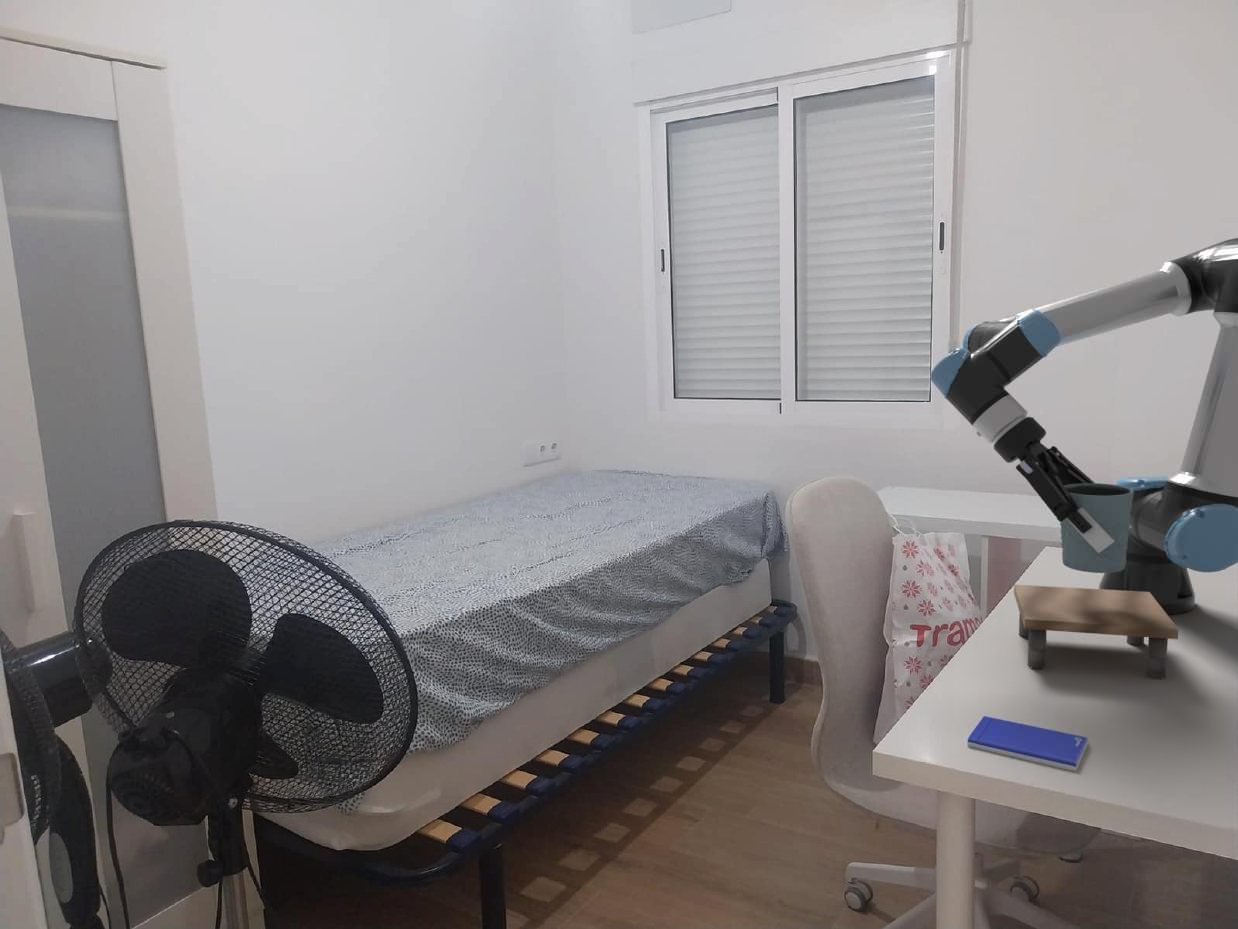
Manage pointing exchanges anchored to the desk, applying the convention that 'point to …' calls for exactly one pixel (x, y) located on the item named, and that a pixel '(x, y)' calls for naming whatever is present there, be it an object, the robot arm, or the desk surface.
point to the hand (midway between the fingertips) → (1115, 539)
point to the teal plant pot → (1111, 514)
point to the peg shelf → (1094, 619)
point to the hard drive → (1029, 742)
